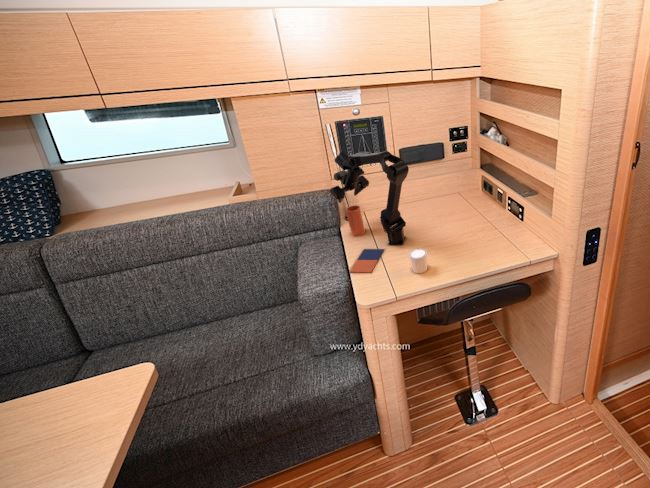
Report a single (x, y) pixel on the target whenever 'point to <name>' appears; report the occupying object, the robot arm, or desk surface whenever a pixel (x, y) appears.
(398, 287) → the desk surface
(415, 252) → the shot glass
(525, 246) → the desk surface
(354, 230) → the terracotta cup
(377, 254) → the sorting mat
